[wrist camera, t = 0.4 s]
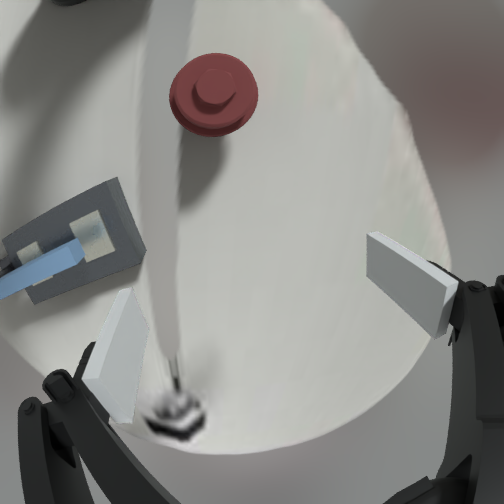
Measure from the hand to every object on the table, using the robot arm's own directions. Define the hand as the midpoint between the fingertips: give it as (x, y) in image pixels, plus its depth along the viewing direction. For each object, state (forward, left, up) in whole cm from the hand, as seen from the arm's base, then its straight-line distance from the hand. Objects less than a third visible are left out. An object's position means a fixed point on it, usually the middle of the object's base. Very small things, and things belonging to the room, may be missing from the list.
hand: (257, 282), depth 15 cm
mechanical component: (-13, +2, -28) cm, 31 cm away
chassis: (-2, -25, -27) cm, 37 cm away
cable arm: (-2, -31, -18) cm, 36 cm away
